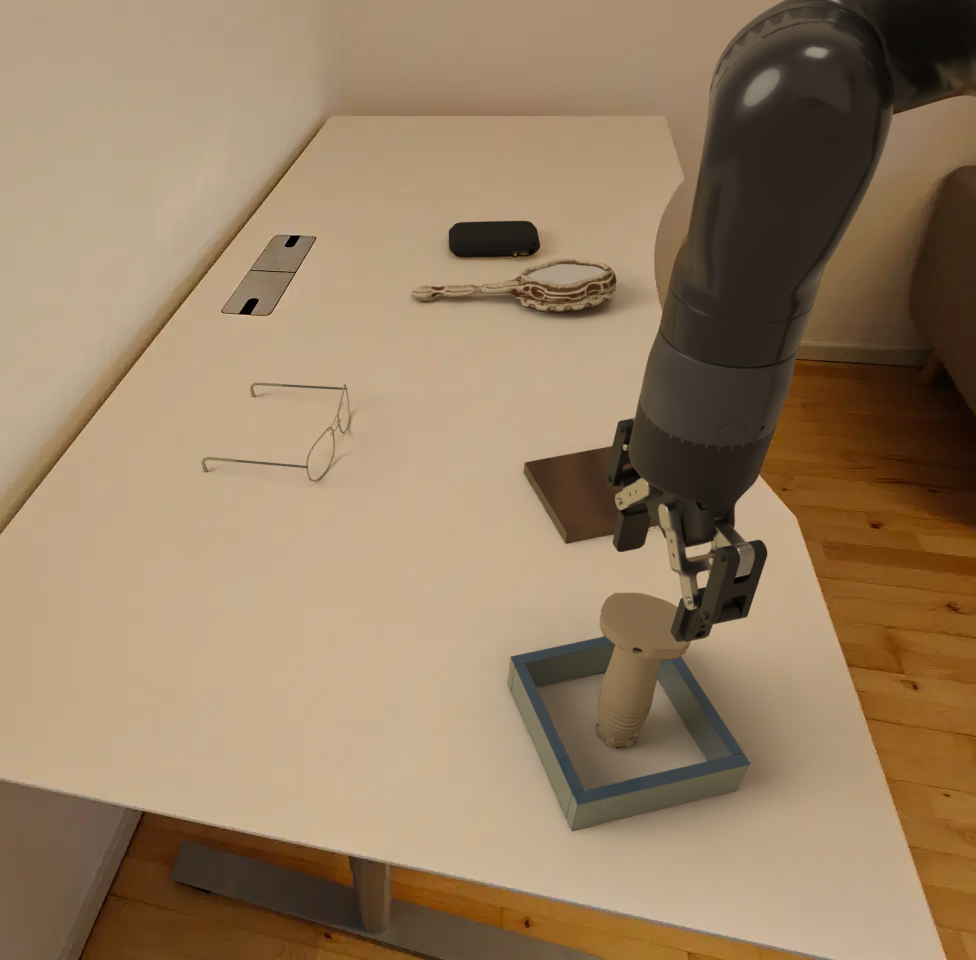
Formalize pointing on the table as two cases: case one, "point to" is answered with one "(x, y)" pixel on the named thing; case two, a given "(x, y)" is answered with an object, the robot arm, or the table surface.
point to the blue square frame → (633, 794)
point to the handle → (633, 662)
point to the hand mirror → (543, 286)
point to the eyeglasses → (312, 446)
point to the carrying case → (493, 239)
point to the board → (576, 493)
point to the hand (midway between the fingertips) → (655, 588)
